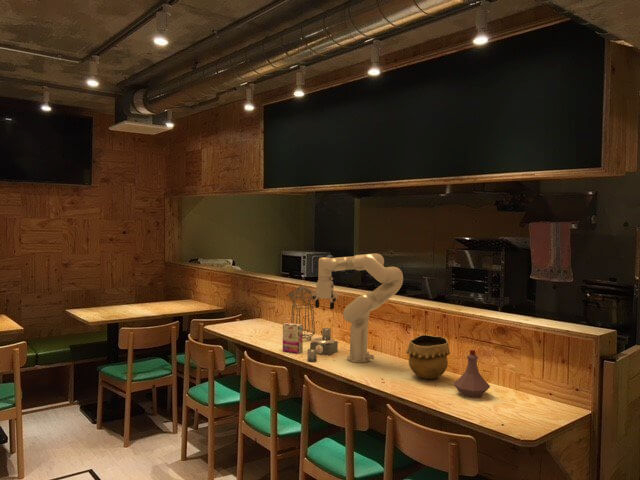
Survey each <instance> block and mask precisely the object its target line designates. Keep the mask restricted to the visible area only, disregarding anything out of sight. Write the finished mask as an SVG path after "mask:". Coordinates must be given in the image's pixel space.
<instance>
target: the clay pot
mask: <svg viewBox="0 0 640 480" xmlns="http://www.w3.org/2000/svg"><path fill="white" fill-rule="evenodd" d="M405 352H406V354H408V366H409V367H410V369H411V371H412V372H413V373H414V374H415V376H417V377H420V378H422V379H424V380H435V379H437V378H440V377H441V376H442V375H444V373H445V372H446V370H447V369H448V364H449V363H448V356H449V355H450V354H451V353H450V352H451V351H450V347H449V341H448V339H447V338H446V337H443V336H441V335H438V336H437V335H436V336H435V335H431V334H430V335H429V334H420V335H419V336H416V337H415V338H413V339H411V340H410V341H409V344H408V348H407V350H406V351H405Z"/></svg>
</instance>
